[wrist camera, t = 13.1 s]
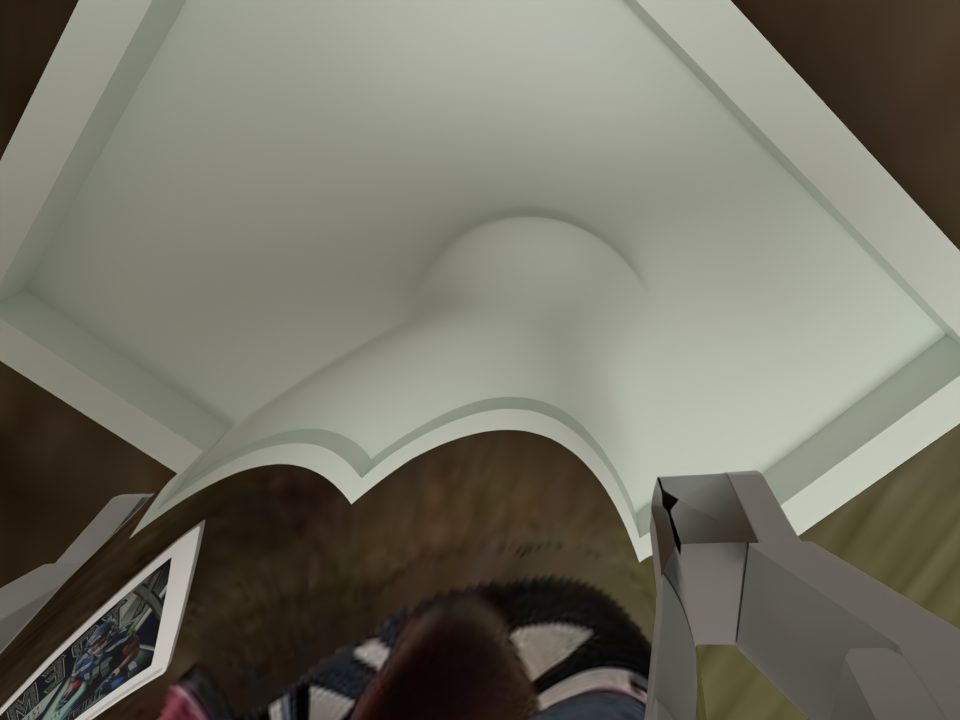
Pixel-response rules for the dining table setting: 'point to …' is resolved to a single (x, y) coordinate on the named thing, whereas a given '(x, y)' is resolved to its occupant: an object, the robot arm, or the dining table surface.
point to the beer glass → (406, 528)
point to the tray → (468, 218)
